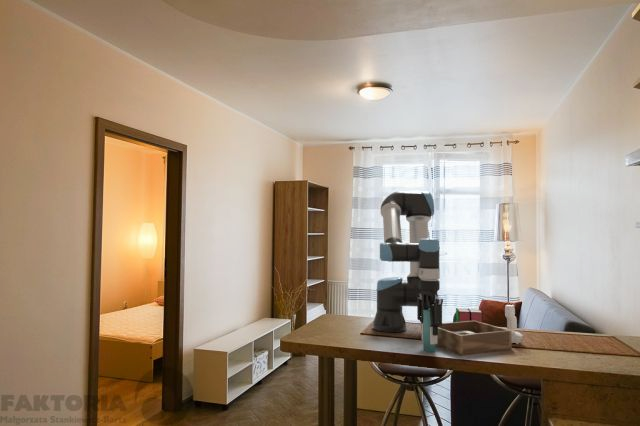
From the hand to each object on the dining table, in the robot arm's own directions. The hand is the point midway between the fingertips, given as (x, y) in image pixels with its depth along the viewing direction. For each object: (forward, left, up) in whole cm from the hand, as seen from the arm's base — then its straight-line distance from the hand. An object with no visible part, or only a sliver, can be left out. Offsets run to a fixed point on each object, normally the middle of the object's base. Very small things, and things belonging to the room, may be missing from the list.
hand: (429, 342), depth 160 cm
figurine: (+1, +39, -3) cm, 39 cm away
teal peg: (0, 0, -3) cm, 3 cm away
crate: (-1, +19, -3) cm, 19 cm away
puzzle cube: (-19, +35, -3) cm, 40 cm away
